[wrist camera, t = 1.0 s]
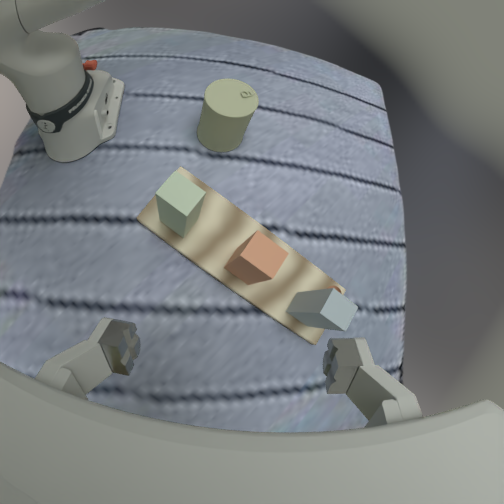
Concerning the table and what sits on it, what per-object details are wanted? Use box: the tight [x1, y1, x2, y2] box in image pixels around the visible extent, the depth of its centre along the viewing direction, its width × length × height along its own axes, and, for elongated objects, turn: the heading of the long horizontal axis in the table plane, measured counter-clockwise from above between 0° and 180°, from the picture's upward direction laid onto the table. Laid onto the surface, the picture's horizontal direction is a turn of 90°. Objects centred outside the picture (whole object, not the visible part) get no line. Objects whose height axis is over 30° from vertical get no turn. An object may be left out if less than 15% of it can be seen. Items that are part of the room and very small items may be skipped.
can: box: [197, 79, 259, 152], centre depth 46 cm, size 9×9×12 cm
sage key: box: [155, 170, 206, 238], centre depth 39 cm, size 5×4×12 cm
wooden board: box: [137, 166, 346, 345], centre depth 48 cm, size 38×12×2 cm, turn 57°
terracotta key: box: [224, 230, 289, 285], centre depth 41 cm, size 5×4×12 cm
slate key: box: [286, 288, 358, 331], centre depth 42 cm, size 5×4×12 cm
